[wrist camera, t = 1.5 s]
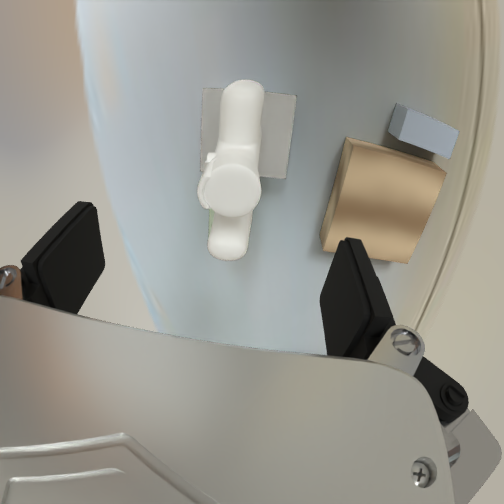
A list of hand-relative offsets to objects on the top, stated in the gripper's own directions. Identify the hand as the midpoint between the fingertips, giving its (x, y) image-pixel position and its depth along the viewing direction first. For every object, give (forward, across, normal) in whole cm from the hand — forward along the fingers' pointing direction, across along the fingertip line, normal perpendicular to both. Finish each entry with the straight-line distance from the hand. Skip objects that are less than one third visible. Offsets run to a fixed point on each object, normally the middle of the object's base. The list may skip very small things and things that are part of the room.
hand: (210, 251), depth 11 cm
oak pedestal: (+19, -14, +4) cm, 24 cm away
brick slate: (+19, -16, -4) cm, 25 cm away
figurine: (+19, 0, -1) cm, 19 cm away
